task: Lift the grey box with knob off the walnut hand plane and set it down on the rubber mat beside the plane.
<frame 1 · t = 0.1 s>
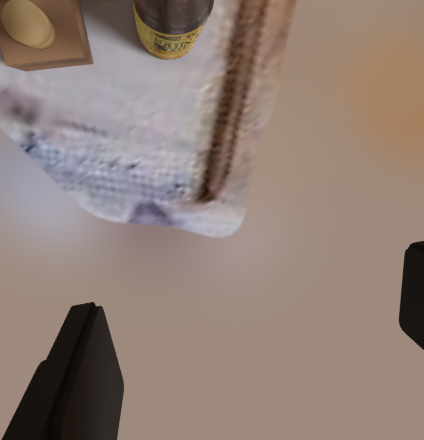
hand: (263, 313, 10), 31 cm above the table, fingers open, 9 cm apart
sauce bottle: (168, 29, 34), on the table
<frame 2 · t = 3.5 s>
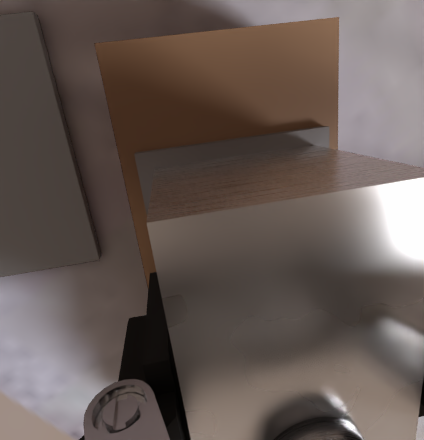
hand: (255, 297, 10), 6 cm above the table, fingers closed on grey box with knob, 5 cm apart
hand plane: (225, 252, 16), on the table
grey box with knob: (248, 284, 11), point 5 cm above the table, touching gripper, hand plane
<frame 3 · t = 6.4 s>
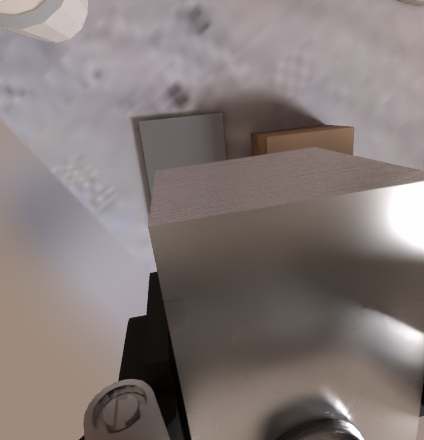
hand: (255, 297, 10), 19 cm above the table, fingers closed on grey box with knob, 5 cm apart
hand plane: (290, 223, 31), on the table
rubber mat: (187, 175, 28), on the table
grey box with knob: (249, 285, 11), point 19 cm above the table, touching gripper
when the fingers open (3 cm above the table, at t = 9.1 s): grey box with knob drops 1 cm, resting on rubber mat.
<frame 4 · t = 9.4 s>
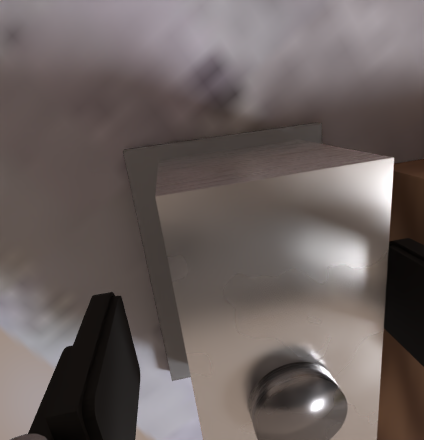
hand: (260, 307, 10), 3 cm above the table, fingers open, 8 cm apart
rubber mat: (236, 260, 13), on the table
grey box with knob: (242, 264, 13), resting on rubber mat
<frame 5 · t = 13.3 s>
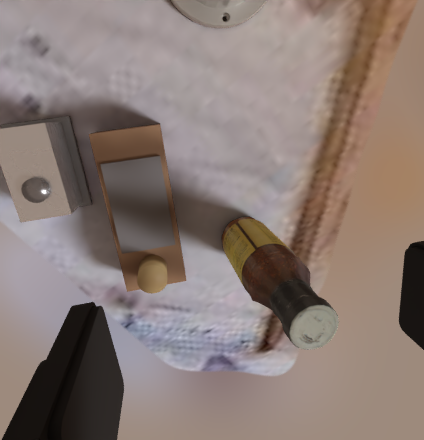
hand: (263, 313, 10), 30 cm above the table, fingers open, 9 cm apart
hand plane: (144, 203, 39), on the table
rubber mat: (49, 166, 36), on the table
sauce bottle: (244, 235, 42), on the table
grey box with knob: (49, 166, 35), resting on rubber mat
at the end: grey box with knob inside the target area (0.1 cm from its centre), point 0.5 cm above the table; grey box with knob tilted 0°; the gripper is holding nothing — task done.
